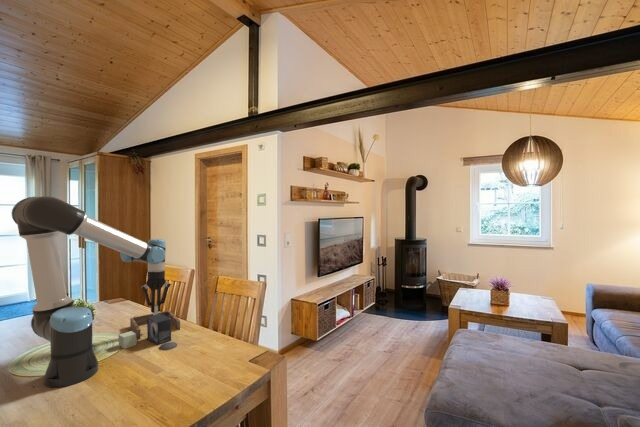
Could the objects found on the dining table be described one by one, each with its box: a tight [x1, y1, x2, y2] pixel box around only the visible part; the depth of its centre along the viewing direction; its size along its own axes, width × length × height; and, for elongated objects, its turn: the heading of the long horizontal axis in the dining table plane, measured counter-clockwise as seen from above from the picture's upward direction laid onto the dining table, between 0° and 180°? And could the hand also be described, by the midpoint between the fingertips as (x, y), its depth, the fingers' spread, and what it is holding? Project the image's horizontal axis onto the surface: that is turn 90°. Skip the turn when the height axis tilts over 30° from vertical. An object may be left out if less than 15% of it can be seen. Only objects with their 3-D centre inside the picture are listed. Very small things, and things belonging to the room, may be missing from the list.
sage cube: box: [118, 330, 137, 349], centre depth 134 cm, size 5×5×5 cm
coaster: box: [159, 341, 178, 351], centre depth 132 cm, size 7×7×1 cm
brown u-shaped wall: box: [129, 309, 181, 341], centre depth 153 cm, size 20×18×4 cm
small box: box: [146, 314, 172, 346], centre depth 139 cm, size 11×6×10 cm, turn 53°
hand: (155, 318), depth 149 cm, fingers closed
